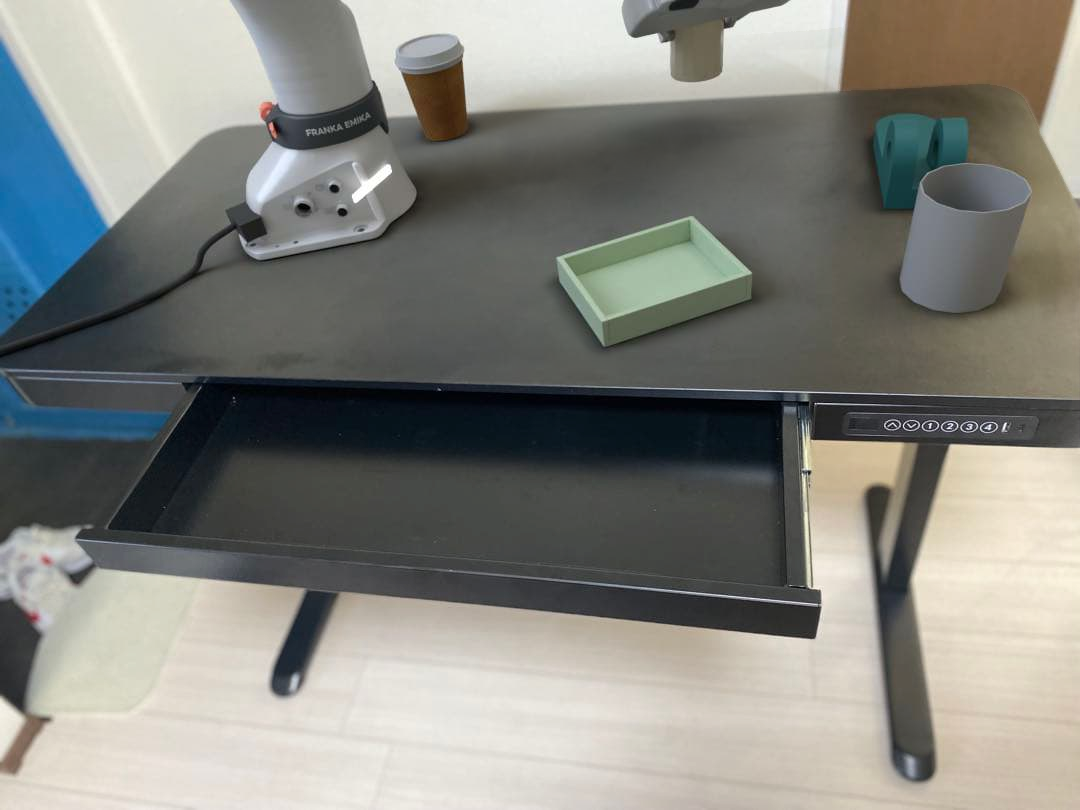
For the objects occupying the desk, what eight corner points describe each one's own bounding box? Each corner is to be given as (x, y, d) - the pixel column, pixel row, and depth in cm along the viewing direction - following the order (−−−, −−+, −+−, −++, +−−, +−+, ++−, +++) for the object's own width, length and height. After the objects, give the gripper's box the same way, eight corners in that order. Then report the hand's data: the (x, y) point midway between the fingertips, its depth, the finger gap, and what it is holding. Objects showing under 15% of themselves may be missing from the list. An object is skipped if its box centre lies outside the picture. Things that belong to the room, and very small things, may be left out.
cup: (1008, 313, 69) (1041, 212, 62) (906, 312, 71) (928, 213, 64) (989, 259, 75) (1018, 161, 68) (895, 259, 77) (914, 164, 70)
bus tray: (604, 347, 73) (601, 321, 71) (559, 281, 82) (556, 257, 80) (751, 299, 76) (752, 273, 74) (692, 240, 84) (692, 215, 82)
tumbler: (684, 86, 97) (684, 8, 91) (662, 70, 102) (660, -5, 96) (731, 73, 98) (734, -4, 92) (707, 58, 103) (708, -17, 97)
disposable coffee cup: (415, 122, 117) (394, 39, 109) (479, 112, 117) (462, 27, 109) (411, 151, 110) (389, 63, 102) (479, 140, 110) (461, 51, 102)
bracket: (954, 208, 82) (972, 135, 77) (884, 209, 84) (897, 138, 78) (931, 130, 95) (945, 63, 89) (870, 132, 96) (880, 67, 91)
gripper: (814, -88, 84) (766, -12, 98) (631, -49, 82) (609, 22, 96) (830, -32, 84) (780, 36, 98) (647, 8, 82) (622, 72, 96)
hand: (694, 30), depth 97 cm, fingers closed on tumbler, 6 cm apart
